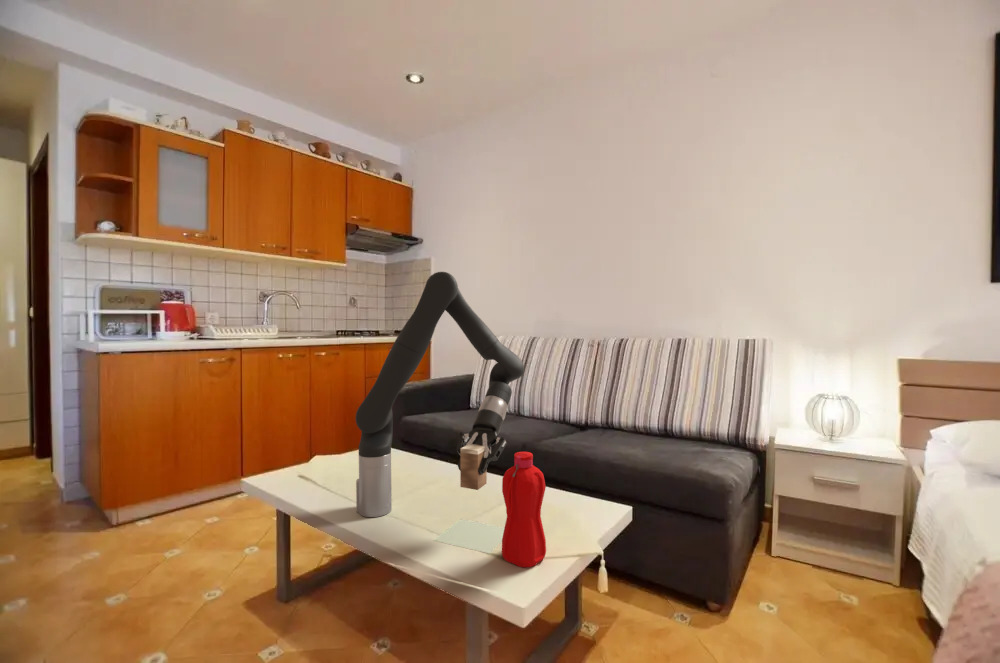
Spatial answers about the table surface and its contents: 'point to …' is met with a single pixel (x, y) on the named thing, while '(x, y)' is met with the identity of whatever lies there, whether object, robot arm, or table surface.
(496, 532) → the sage mat
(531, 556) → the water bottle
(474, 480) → the walnut block
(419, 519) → the table surface
